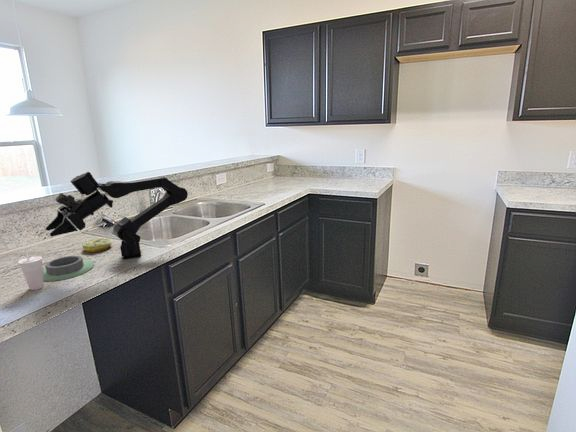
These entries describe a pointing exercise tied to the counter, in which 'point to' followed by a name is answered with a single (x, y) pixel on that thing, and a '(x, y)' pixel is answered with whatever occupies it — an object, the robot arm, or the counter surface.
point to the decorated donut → (97, 245)
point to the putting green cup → (66, 268)
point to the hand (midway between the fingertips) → (48, 232)
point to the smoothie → (32, 270)
